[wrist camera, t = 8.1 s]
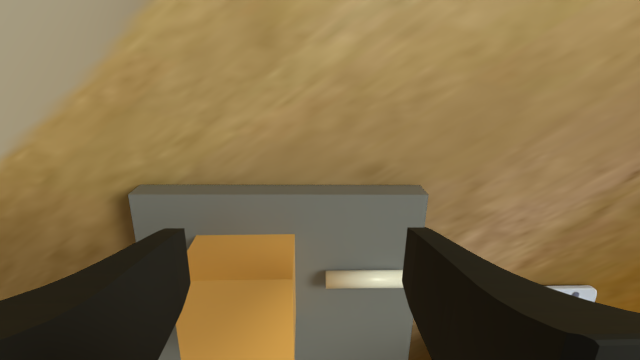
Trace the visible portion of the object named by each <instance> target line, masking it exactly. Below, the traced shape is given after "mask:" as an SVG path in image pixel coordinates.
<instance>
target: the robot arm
mask: <svg viewBox="0 0 640 360" xmlns="http://www.w3.org/2000/svg"><path fill="white" fill-rule="evenodd" d="M190 284H191V281H190V272H189V264H188V255H187V246H186V238H185V229H184V228H165V229H162V230H160V231H157V232H155V233H153V234H151V235H149V236H147V237H145V238H144V239H142V240H140V241H138V242H136V243H134V244H132V245H131V246H129V247H127V248H125V249H123V250H121V251H119V252H118V253H116V254H114V255H112V256H110V257H108V258H106V259H104V260H102V261H100V262H98V263H96V264H94V265H91V266H89V267H87V268H85V269H83V270H81V271H79V272H77V273H75V274H72V275H70V276H68V277H65V278H63V279H60V280H58V281H55V282H53V283H50V284H48V285H45V286H43V287H40V288H37V289H34V290H31V291H28V292H25V293H23V294H20V295H17V296H14V297H11V298H8V299H5V300H2V301H0V360H158V359H159V357H160V355H161V353H162V351H163V349H164V347H165V345H166V343H167V341H168V339H169V337H170V335H171V333H172V331H173V329H174V327H175V324H176V322H177V320H178V318H179V316H180V314H181V312H182V309H183V306H184V303H185V300H186V297H187V294H188V291H189V287H190ZM402 284H403V288H404V291H405V295H406V299H407V302H408V305H409V308H410V311H411V313H412V315H413V318H414V320H415V322H416V324H417V327H418V329H419V331H420V333H421V336H422V338H423V340H424V342H425V345H426V347H427V349H428V351H429V354H430V356H431V358H432V360H640V313H636V312H631V311H627V310H623V309H619V308H615V307H611V306H607V305H603V304H600V303H596V302H595V299H596V295H597V291H596V290H595V289H594V288H593V287H592V286H588V285H585V286H543V285H540V284H537V283H535V282H532V281H530V280H528V279H525V278H523V277H520V276H518V275H516V274H513V273H511V272H509V271H507V270H504V269H502V268H500V267H498V266H496V265H494V264H492V263H490V262H488V261H486V260H484V259H483V258H481V257H479V256H477V255H475V254H473V253H472V252H470V251H468V250H466V249H464V248H463V247H461V246H459V245H457V244H456V243H454V242H452V241H451V240H449V239H447V238H445V237H444V236H442V235H440V234H438V233H437V232H435V231H433V230H431V229H429V228H426V227H407V237H406V246H405V255H404V265H403V274H402ZM573 293H574V294H573Z"/></svg>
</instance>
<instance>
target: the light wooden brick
mask: <svg viewBox="0 0 640 360" xmlns="http://www.w3.org/2000/svg"><path fill="white" fill-rule="evenodd" d="M187 255H188V264H189V272H190V281H191V284H190V287H189V291H188V294H187V297H186V300H185V303H184V306H183V309H182V312H181V314H180V316H179V318H178V320H177V322H176V329H177V336H178V343H179V350H180V357H181V360H295V325H296V293H295V234H265V235H196V237H195V238H194V240H193V242H192V244H191V245H190V247H189V249H188V250H187Z"/></svg>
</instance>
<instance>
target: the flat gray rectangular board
mask: <svg viewBox="0 0 640 360" xmlns="http://www.w3.org/2000/svg"><path fill="white" fill-rule="evenodd" d="M128 198H129V204H130V210H131V216H132V222H133V228H134V234H135V240H136V242H138V241H140V240H142V239H144V238H145V237H147V236H149V235H151V234H153V233H155V232H157V231H160V230H162V229H165V228H184V229H185V238H186V246H187V250H188V249H189V247H190V245H191V244H192V242H193V240H194V238H195V237H196V235H265V234H295V293H296V325H295V360H408V356H409V348H410V340H411V332H412V324H413V315H412V313H411V311H410V308H409V305H408V302H407V299H406V295H405V291H404V288H403V284H402V274H403V265H404V255H405V246H406V237H407V227H424V226H425V218H426V210H427V202H428V194H427V193H426V191H425V190H424V189H423V188H422V187H421V186H420V185H139V186H138V187H137V188H135V189H134V190H133V191H132V192H131V193H129V194H128ZM158 360H181V357H180V350H179V343H178V336H177V329H176V324H175V327H174V329H173V331H172V333H171V335H170V337H169V339H168V341H167V343H166V345H165V347H164V349H163V351H162V353H161V355H160V357H159V359H158Z"/></svg>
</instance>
